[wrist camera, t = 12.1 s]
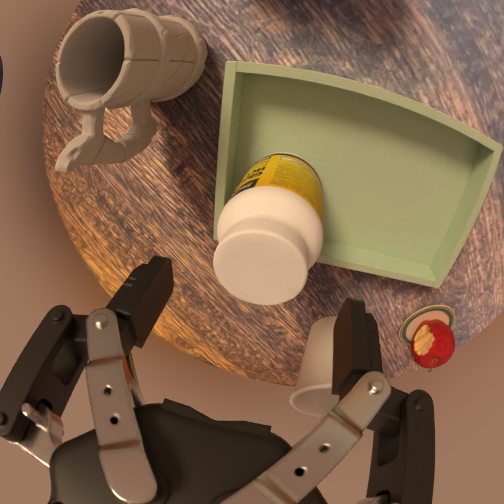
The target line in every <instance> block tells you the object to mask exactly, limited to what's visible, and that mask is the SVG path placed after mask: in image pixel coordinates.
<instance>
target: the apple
mask: <svg viewBox="0 0 504 504" xmlns="http://www.w3.org/2000/svg"><path fill="white" fill-rule="evenodd" d="M454 323H455V313H454V311H453V310H452V309H451V308H450V307H448V306H446V305H432V306H428V307H425V308H422V309H420V310H418V311H416V312H415V313H413V314H412V315H411V316H409V317H408V318H407V319H406V320H405V321H404V323H403V324H402V326H401V328H400V331H399V337H400V340H401V341H402V342H403V343H404V344H406V345H408V346H411V351H412V355H413V357H414V360H415V361H416V362H417V363H418V364H419V365H420V366H422V367H424V368H431V369H430V370H429V372H430V371H431V370H432V368H435V367H438V366H440V365H443V364H444V363H446V362H447V361H448V360H449V358H450V357H451V356H452V354H453V352H454V349H455V339H454V334H453V332H452V330H451V329H452V327H453V325H454Z"/></svg>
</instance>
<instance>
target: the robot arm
mask: <svg viewBox="0 0 504 504" xmlns="http://www.w3.org/2000/svg"><path fill="white" fill-rule="evenodd" d="M173 287H174V280H173V271H172V261H171V259H169V258H165V257H161V256H157V255H155V256H153V257H152V259H151V260H150V261H149V263H148V264H141V265H140V266H138V267H137V268H135V269H134V270H133V271H132V272H131V274H130V275H129V276H128V279H126V280H125V282H124V283H123V285H122V286H121V287H120V288H119V290H118V291H117V292H116V294H115V295H114V297H113V298H112V300H111V301H110V302H109V304H108V305H107V306H106V307H105V308H100V309H97V310H95V311H93V312H92V313H91V314H90V315H75V314H72V312H71V310H70V308H69V307H67V306H65V305H58V306H55V307H53V308H52V309H51V310H50V311H49V312H48V313H47V314H46V316H45V317H44V319H43V320H42V322H41V323H40V325H39V326H38V328H37V329H36V331H35V332H34V334H33V335H32V337H31V338H30V340H29V342H28V343H27V345H26V346H25V348H24V350H23V351H22V353H21V354H20V356H19V358H18V360H17V362H16V363H15V365H14V367H13V368H12V370H11V372H10V374H9V375H8V377H7V379H6V381H5V383H4V385H3V387H2V389H1V391H0V436H1V437H3V438H5V439H6V440H7V441H8V442H10V443H12V444H14V445H15V446H17V447H19V448H21V449H23V450H25V451H26V452H27V453H28V454H30V455H31V456H32V457H34V458H35V459H37V460H38V461H39V462H41V463H42V464H44V465H45V466H47V467H48V468H49V471H50V478H51V496H50V500H49V502H48V504H328V503H327V502H326V500H325V499H324V497H323V496H322V494H321V492H320V491H319V489H318V488H317V485H318V484H319V483H320V482H321V481H322V480H323V479H324V478H325V477H326V476H327V475H328V474H329V473H330V472H331V471H332V470H333V469H334V468H335V467H336V466H337V465H338V464H339V463H340V461H341V460H342V459H343V458H344V457H345V456H346V455H347V454H348V453H349V452H350V451H351V449H352V448H353V447H354V446H355V445H356V444H357V442H358V441H359V440H360V438H361V437H362V435H363V434H362V432H363V431H364V429H365V428H367V429H370V430H373V431H374V438H373V449H372V459H371V467H370V476H369V482H368V489H367V494H366V498H365V499H363V500H361V501H359V502H358V503H357V504H432V496H433V485H434V470H435V425H434V424H435V423H434V406H433V401H432V398H431V396H430V395H429V394H428V393H426V392H425V391H423V390H414V391H413V392H411V393H410V394H408V393H405V392H403V391H400V390H398V389H395V388H393V387H392V386H391V384H390V381H389V380H388V378H387V377H386V376H385V375H384V374H383V370H382V359H381V350H380V343H379V335H378V326H377V322H376V320H375V319H374V317H373V315H372V314H370V313H366V311H365V303H364V301H363V300H358V299H353V298H347V299H346V300H345V302H344V304H343V306H342V308H341V310H340V312H339V314H338V316H337V318H336V321H335V324H334V329H333V370H332V393H331V394H332V395H339V402H338V403H337V404H336V405H335V406H334V407H333V408H332V410H331V411H330V412H329V413H328V414H327V415H326V416H325V417H324V418H323V419H322V420H321V421H320V422H319V423H318V424H317V425H316V426H315V427H313V428H312V429H311V430H310V431H309V432H308V433H307V434H306V435H305V436H304V437H303V438H301V439H300V440H299V441H298V442H297V443H296V444H295V445H294V446H293V447H291V446H290V445H289V444H288V443H287V442H286V441H285V440H284V439H283V438H281V437H280V436H278V435H276V434H274V433H272V432H270V430H271V426H268V425H262V424H257V423H252V422H247V421H216V420H213V419H211V418H209V417H207V416H205V415H204V414H202V413H200V412H198V411H197V410H195V409H193V408H191V407H190V406H186V405H184V404H180V403H177V402H174V401H171V400H168V399H164V402H163V404H160V403H155V404H154V403H153V404H146V403H145V400H144V398H143V395H142V392H141V390H140V387H139V383H138V379H137V375H136V371H135V368H134V363H133V359H132V354H131V350H132V348H133V346H137V347H140V348H142V347H143V345H144V343H145V341H146V340H147V338H148V336H149V334H150V332H151V330H152V328H153V327H154V325H155V323H156V321H157V319H158V318H159V316H160V314H161V312H162V310H163V309H164V307H165V305H166V303H167V302H168V300H169V298H170V296H171V294H172V292H173ZM59 352H60V353H59ZM58 354H59V355H58ZM55 359H56V360H55ZM88 360H89V363H87V362H88ZM54 361H55V362H54ZM84 367H85V371H86V380H87V387H88V393H89V400H90V405H91V411H92V416H93V421H94V426H95V429H93V430H91V431H88V432H86V433H84V434H82V435H80V436H78V437H76V438H73V439H71V440H69V441H66V442H64V443H62V436H63V435H64V430H63V423H62V421H61V419H60V418H61V416H62V413H63V411H64V409H65V407H66V405H67V402H68V400H69V398H70V396H71V394H72V392H73V390H74V388H75V385H76V383H77V381H78V379H79V377H80V375H81V373H82V371H83V369H84Z"/></svg>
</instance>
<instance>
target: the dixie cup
mask: <svg viewBox="0 0 504 504" xmlns="http://www.w3.org/2000/svg"><path fill="white" fill-rule="evenodd" d="M336 318H337V316H330V317H325V318H322V319H319V320H317V321H316V322H315V323H314V324H313V325H312V326H311V329H310V333H309V336H308V341H307V345H306V349H305V353H304V357H303V360H302V364H301V368H300V372H299V375H298V379H297V382H296V386H295V389H294V393H293V394H292V395H291V396H290V403H291V405H292V406H293V407H294V408H295V409H296V410H298V411H300V412H302V413H305V414H309V415H313V416H320V417H325V416H326V415H327V414H328V413H329V412H330V411H331V410H332V408H333V407H334V406H335V405H336V404H337V403H338V402H339V395H332V394H331V393H332V370H333V329H334V324H335V321H336Z"/></svg>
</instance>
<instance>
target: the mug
mask: <svg viewBox="0 0 504 504" xmlns="http://www.w3.org/2000/svg"><path fill="white" fill-rule="evenodd" d="M207 56H208V52H207V45H206V42H205V39H204V37H203V36H202V34H201V33H200V32H199V30H198V29H197V28H196V27H195V26H194V25H193V24H192V23H190V22H189V21H187V20H185V19H183V18H180V17H175V16H172V15H167V16H160V17H158V16H156V15H154V14H152V13H150V12H147V11H143V10H139V9H136V8H132V9H127V10H124V11H117V10H100V11H96V12H93V13H91V14H88V15H87V16H85V17H84V18H82V19H81V20H79V21H78V22H76V23H75V24H74V25H73V27H72V28H71V29H70V30H69V32H68V33H67V35H66V36H65V38H64V40H63V42H62V44H61V47H60V49H59V52H58V58H57V60H58V61H60V62H58V63H57V64H56V80H57V84H58V88H59V91H60V93H61V95H62V97H63V98H64V99H65V101H68V104H70V105H71V106H72V107H74V108H76V109H78V110H82V111H83V121H82V128H83V132H82V135H80V136H78V137H76V138H74V139H73V140H71V141H70V142H69V143H68V145H67V146H66V147H65V149H64V150H63V151H62V153H61V154H60V155H59V158H58V160H57V162H56V166H55V170H56V171H58V172H63V173H68V172H70V171H72V170H73V169H75V168H77V167H79V166H83V165H87V166H88V165H95V164H106V165H107V164H114V163H123V162H126V161H128V160H129V159H131V158H132V157H134V156H135V155H137V154H138V153H140V152H142V151H143V150H144V149H145V148H146V147H147V146H148V145H149V144H150V143H151V138H152V137H153V136H154V135H155V134H156V132H157V127H156V124H155V123H154V121H153V119H152V115H151V110H150V102H161V101H166V100H170V99H173V98H175V97H177V96H179V95H181V94H183V93H184V92H186V91H187V90H188V89H189V88H190V87H192V86H193V85H194V84H195V83H196V82H197V81H198V79H199V78H200V77H201V75H202V73H203V71H204V69H205V66H206V64H204V63H205V60H206V58H207ZM130 105H131V114H132V119H133V124H130V126H129V127H128V129H127V131H126V132H125V134H124V135H123V137H122V138H120V139H118V140H115V141H113V140H112V139H110V138H108V137H107V136H105V135H104V134H103V119H104V110H105V107H109V108H112V109H117V108H122V107H127V106H130Z"/></svg>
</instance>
